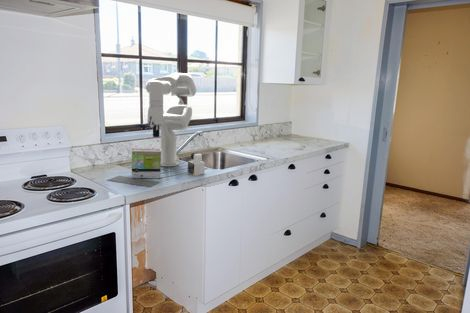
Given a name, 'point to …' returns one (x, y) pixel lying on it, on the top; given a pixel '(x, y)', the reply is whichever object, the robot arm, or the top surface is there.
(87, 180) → the top surface
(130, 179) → the rubber mat
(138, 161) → the tea box
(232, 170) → the top surface
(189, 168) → the medicine bottle
